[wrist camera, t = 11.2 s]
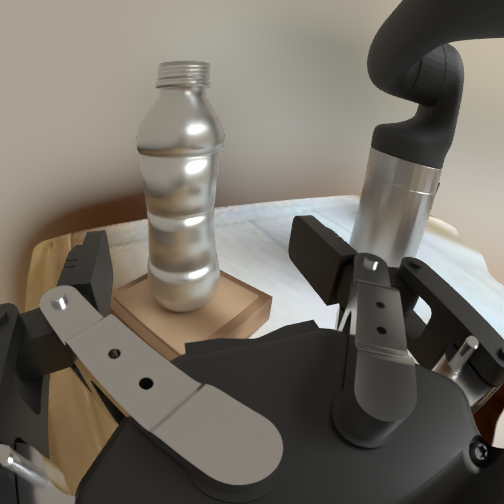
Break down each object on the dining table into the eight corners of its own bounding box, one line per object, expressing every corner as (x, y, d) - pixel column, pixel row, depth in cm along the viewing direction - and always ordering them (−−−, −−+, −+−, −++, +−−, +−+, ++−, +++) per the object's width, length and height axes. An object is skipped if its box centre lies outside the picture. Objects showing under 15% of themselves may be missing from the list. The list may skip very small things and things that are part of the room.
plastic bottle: (228, 284, 29) (242, 68, 19) (204, 331, 23) (210, 55, 13) (170, 271, 30) (168, 70, 20) (138, 311, 24) (118, 65, 14)
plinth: (188, 273, 35) (187, 250, 34) (268, 318, 30) (272, 294, 28) (107, 320, 27) (100, 296, 25) (186, 392, 21) (182, 370, 19)
